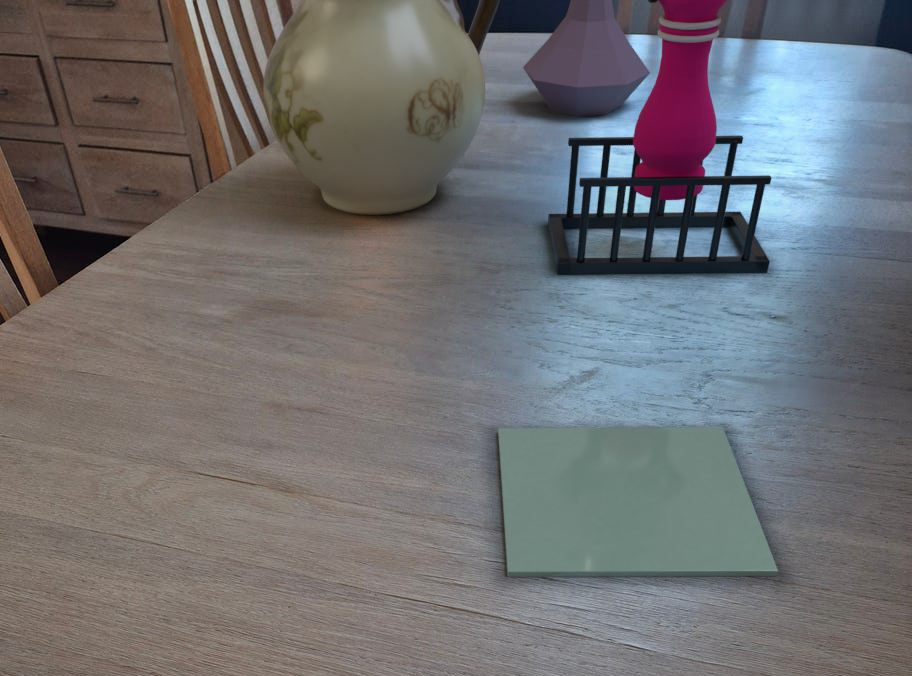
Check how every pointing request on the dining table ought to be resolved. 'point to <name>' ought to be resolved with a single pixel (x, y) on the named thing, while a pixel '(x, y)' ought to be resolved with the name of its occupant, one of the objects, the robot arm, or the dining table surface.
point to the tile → (627, 504)
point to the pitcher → (377, 97)
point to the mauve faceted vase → (586, 62)
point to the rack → (656, 219)
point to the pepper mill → (679, 99)
